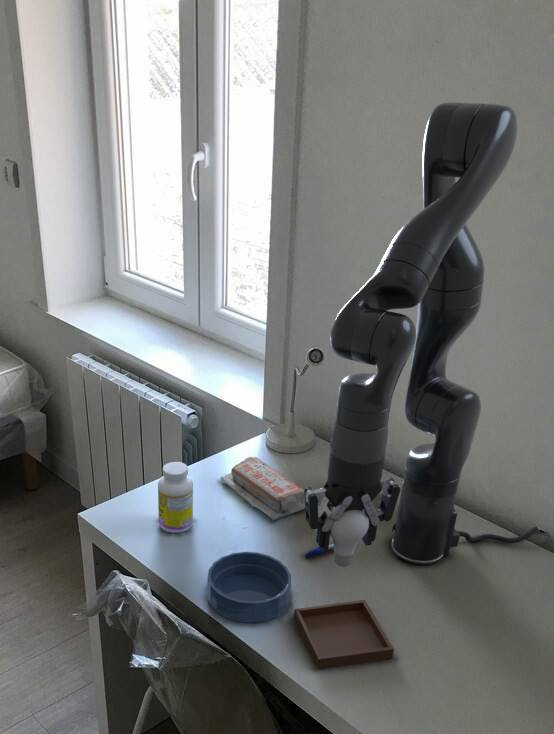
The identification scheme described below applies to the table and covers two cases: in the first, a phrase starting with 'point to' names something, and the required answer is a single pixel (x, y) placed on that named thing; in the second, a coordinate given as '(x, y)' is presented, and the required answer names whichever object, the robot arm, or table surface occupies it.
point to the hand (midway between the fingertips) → (345, 544)
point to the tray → (342, 634)
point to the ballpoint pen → (317, 551)
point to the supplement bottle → (175, 498)
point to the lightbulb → (348, 534)
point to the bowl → (249, 587)
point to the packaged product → (265, 488)
